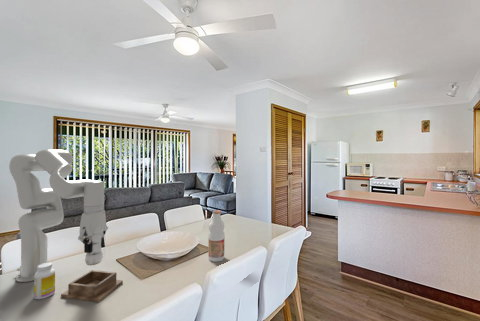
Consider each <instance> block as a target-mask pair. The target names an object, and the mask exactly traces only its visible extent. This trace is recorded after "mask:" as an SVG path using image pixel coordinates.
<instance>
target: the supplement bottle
mask: <svg viewBox="0 0 480 321" xmlns="http://www.w3.org/2000/svg"><path fill="white" fill-rule="evenodd" d="M37 270H38V272H37V273H36V274H35V275H34V281H33V282H34V283H33V284H34V285H33V287H34V288H33V291H34V292H33V298H34V299H36V300H43V299H47V298H49V297H50V296H53V294H55V292H56V270H55V268H54V267H53V263H52V262H47V263H43V264H41V265H39V266H38V268H37Z"/></svg>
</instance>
